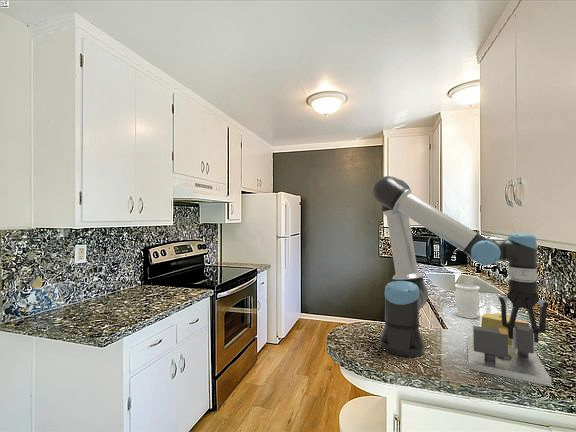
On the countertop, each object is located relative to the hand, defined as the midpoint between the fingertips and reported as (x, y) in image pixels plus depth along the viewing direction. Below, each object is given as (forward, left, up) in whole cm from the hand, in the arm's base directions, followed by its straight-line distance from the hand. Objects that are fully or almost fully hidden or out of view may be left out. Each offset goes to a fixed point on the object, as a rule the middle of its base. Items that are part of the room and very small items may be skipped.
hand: (522, 349), depth 101 cm
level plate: (-6, -4, -4) cm, 8 cm away
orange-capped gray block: (0, 0, -2) cm, 2 cm away
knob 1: (-10, -10, -2) cm, 14 cm away
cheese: (-5, +16, -4) cm, 17 cm away
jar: (-15, +47, -4) cm, 49 cm away
